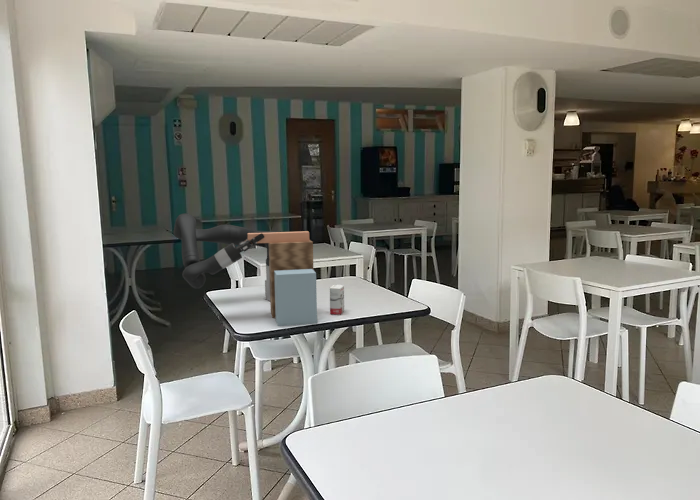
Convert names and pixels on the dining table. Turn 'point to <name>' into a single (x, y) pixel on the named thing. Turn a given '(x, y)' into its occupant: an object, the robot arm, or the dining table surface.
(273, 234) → the bar
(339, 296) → the ink box
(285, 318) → the grey foam block
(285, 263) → the plinth
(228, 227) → the robot arm
